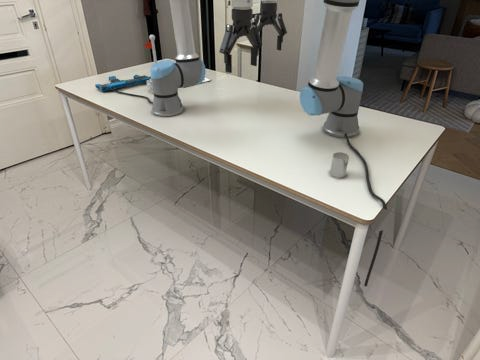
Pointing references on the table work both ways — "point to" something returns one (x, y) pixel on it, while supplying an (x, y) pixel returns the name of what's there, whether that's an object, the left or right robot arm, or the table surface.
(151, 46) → the flag stand
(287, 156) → the table surface
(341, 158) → the canister
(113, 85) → the submachine gun
